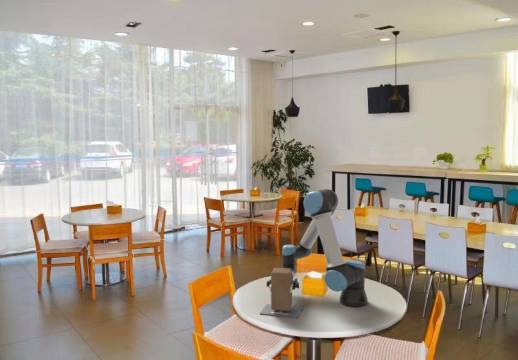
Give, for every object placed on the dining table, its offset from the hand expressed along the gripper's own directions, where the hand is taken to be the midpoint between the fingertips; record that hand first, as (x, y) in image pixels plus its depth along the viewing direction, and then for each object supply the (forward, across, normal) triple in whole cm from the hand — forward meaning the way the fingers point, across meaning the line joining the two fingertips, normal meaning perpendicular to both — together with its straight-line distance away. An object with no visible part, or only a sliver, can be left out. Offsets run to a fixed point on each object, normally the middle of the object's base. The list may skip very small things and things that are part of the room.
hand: (280, 289), depth 242 cm
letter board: (-4, 0, -13) cm, 14 cm away
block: (-4, 0, -11) cm, 12 cm away
